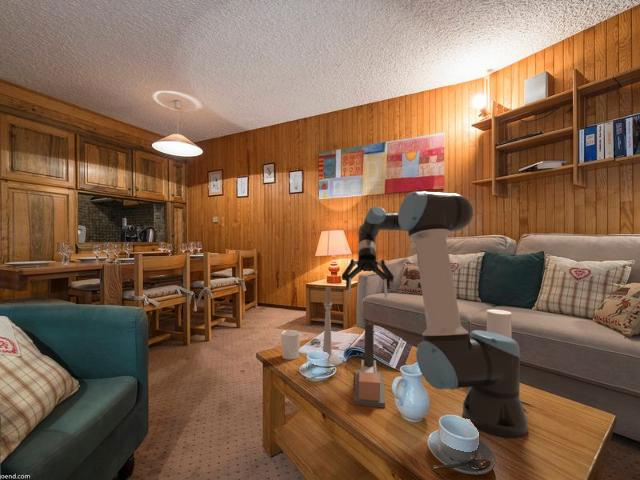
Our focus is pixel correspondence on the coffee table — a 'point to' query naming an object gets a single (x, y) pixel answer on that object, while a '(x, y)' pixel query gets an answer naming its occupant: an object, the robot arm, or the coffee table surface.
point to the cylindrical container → (499, 322)
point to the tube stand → (369, 388)
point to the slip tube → (369, 348)
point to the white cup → (290, 344)
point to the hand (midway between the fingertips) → (367, 294)
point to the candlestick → (329, 331)
